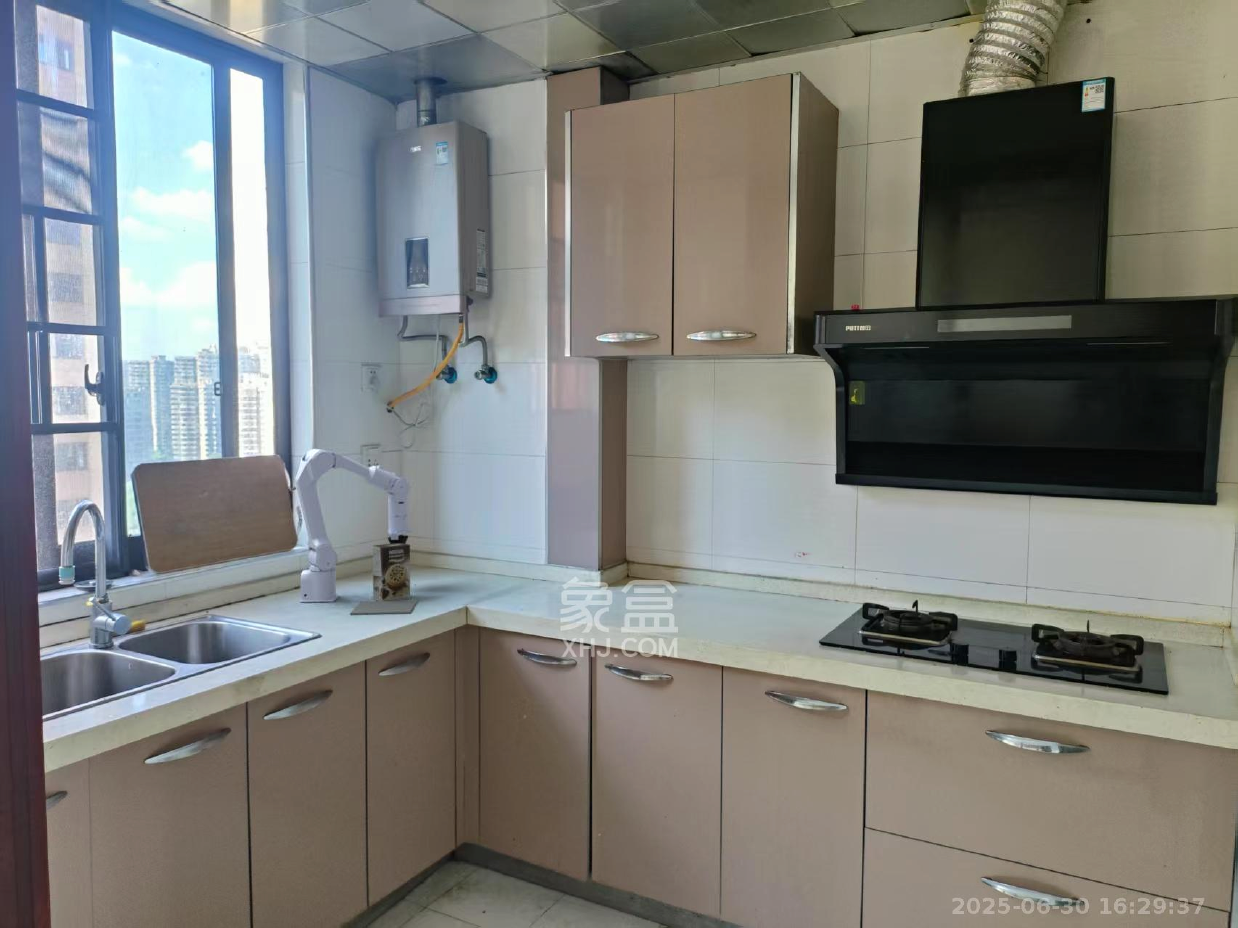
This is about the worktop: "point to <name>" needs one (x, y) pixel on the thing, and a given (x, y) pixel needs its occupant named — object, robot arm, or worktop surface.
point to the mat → (384, 607)
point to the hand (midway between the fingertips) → (398, 559)
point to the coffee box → (391, 572)
